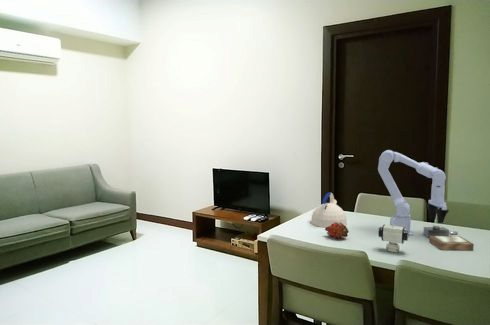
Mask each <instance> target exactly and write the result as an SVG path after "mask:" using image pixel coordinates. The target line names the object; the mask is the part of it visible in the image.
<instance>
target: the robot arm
mask: <svg viewBox="0 0 490 325" xmlns="http://www.w3.org/2000/svg"><path fill="white" fill-rule="evenodd" d="M392 162H394V163H399V162H400V163H402V164H405V165H407V166H408V167H412V168H414V169H415V170H416V172H417V173H418V174H420V175H422V176H425V177H426V178H427V179H432V184H431V193H430V199H428V204H426V208H427V210H428V213H429V218H430V220H437V223H438V224H443V223H444V221H445V218H446V215H447V214H448V213H449V209H448V206H447V203H446V202H445V193H446V192H445V191H446V190H445V189H446V185H445V181H446V179H447V177H446V174H445V172H444V171H443V170H441V169H439V168H438V167H437V166H436V167H434V166H432V165H430V164H429V162H425V161H422V162H417V161H416V160H414V159H411V158H409V157H408V156H406V155H404V154H403V153H400V152H398V151H394V150H391V149H387V150H385V151H383V152H382V153H381V155H380V156H379V158H378V166H377V170H378V171H377V172H378V174H379V175H380V178H381V179H382V181H383V183H384V185H385V187H386V188H387V190H388V192H389V195H390V196H391V199H392V200H393V204H394V206H395V208H396V213H395V215H391V216H390V218H389V225H391V226H392V225H395V226H399V227H405V229H406V231H408V236H409V235H410V236H411V235H412V236H413V235H414V233H413V232H412V231H411V223H412V220H411V219H412V215H411V204H409V203H408V202H407V201H406V200H405V198H404V197H403V195H402V193H401V191H400V190H399V187H398V186H397V184H396V182H395V180H394V178H393V176H392V174H391V172H390V171H389V168H390V165H391V163H392ZM436 218H437V219H436Z"/></svg>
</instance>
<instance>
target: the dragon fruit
mask: <svg viewBox="0 0 490 325" xmlns="http://www.w3.org/2000/svg"><path fill="white" fill-rule="evenodd" d="M324 231H326V235H328V236H330V237H332V238H334V239H339V240H343V238H346V237H348V236H349V235H348V234H349V229H348V227H347V225H346V226H344V225H343V224H342V223H340V224H338V223H337V222H334V224H332V225H331V226H328V227H326V228H325V229H324Z"/></svg>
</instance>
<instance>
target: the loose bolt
mask: <svg viewBox="0 0 490 325" xmlns="http://www.w3.org/2000/svg"><path fill="white" fill-rule="evenodd" d="M451 234H453V235H458V234H459V231H456V230H455V231H450V230H449V235H450V236H452V235H451Z"/></svg>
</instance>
